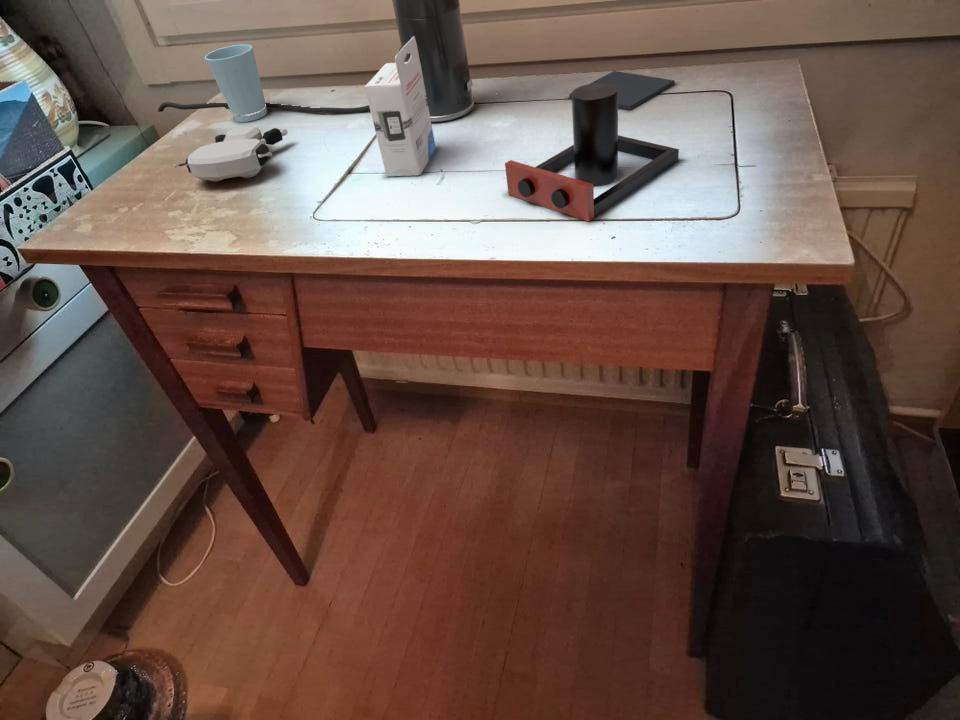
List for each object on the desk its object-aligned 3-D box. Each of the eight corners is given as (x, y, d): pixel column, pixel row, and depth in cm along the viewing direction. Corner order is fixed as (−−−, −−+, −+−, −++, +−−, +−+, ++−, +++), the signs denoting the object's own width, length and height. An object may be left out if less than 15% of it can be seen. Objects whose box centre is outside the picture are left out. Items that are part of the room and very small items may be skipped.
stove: (503, 197, 77) (499, 165, 75) (597, 141, 86) (597, 111, 83) (583, 225, 70) (582, 191, 68) (678, 161, 78) (680, 128, 76)
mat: (569, 98, 99) (569, 94, 98) (614, 74, 104) (614, 70, 104) (630, 110, 92) (630, 106, 92) (674, 84, 97) (674, 80, 97)
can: (566, 179, 79) (562, 95, 72) (592, 163, 81) (590, 80, 75) (600, 189, 76) (598, 102, 69) (626, 172, 78) (627, 86, 72)
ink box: (403, 149, 92) (379, 37, 83) (437, 148, 91) (416, 34, 82) (385, 177, 86) (356, 59, 77) (420, 176, 85) (395, 56, 75)
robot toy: (221, 156, 102) (182, 194, 90) (211, 126, 99) (168, 162, 87) (297, 147, 101) (267, 185, 89) (288, 117, 98) (256, 151, 86)
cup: (269, 120, 109) (246, 54, 102) (224, 127, 110) (198, 62, 103) (277, 105, 115) (256, 41, 108) (234, 111, 115) (211, 48, 109)
